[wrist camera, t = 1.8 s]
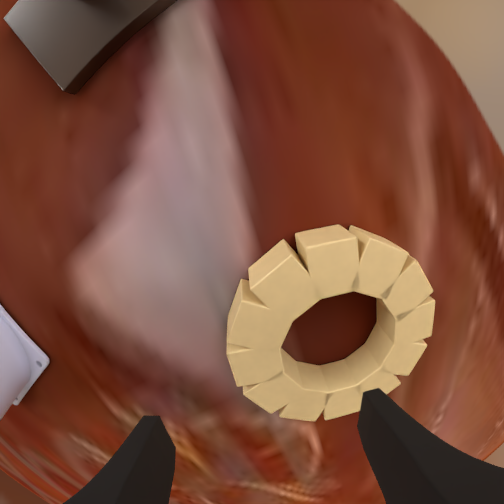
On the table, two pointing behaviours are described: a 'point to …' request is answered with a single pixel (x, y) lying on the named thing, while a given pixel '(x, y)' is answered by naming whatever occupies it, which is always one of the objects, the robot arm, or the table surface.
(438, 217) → the table surface
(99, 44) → the stand
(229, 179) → the table surface
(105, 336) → the table surface
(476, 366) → the table surface
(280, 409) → the yellow gear ring
